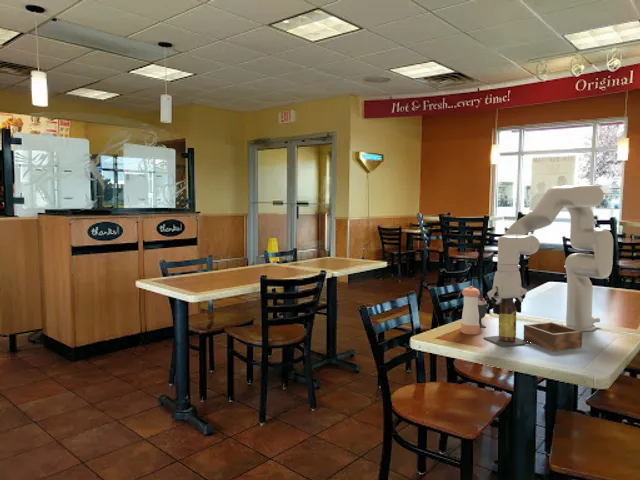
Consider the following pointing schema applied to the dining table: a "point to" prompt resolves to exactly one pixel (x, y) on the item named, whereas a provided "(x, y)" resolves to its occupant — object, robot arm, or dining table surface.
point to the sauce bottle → (507, 320)
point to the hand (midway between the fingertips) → (507, 312)
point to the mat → (506, 343)
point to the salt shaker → (470, 311)
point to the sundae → (481, 309)
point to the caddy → (553, 336)
